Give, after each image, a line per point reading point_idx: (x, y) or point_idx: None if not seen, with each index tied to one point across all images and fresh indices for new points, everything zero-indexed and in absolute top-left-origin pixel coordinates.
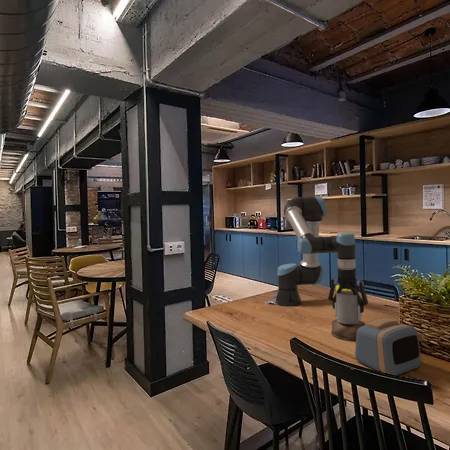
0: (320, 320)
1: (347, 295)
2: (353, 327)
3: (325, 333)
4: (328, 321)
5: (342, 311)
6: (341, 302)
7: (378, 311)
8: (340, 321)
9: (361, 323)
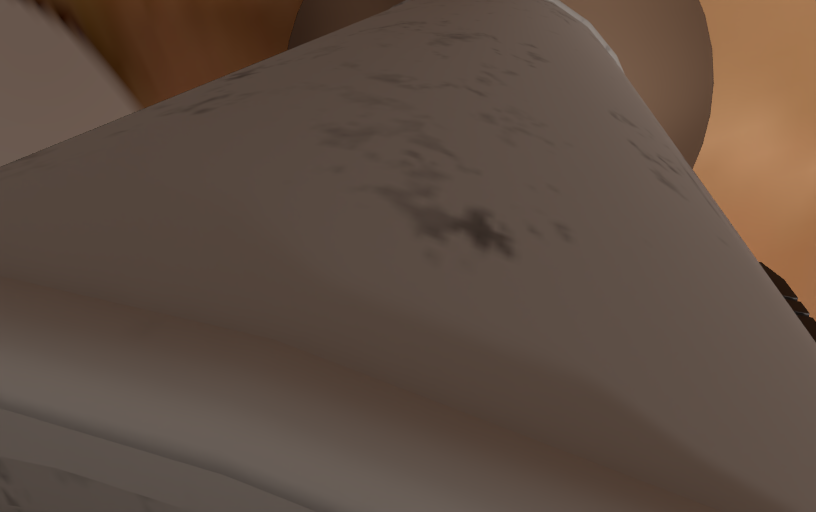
0: None
1: (15, 498)
2: (378, 4)
3: (768, 13)
4: None
5: (519, 18)
6: (546, 98)
7: None
8: (570, 13)
9: None
